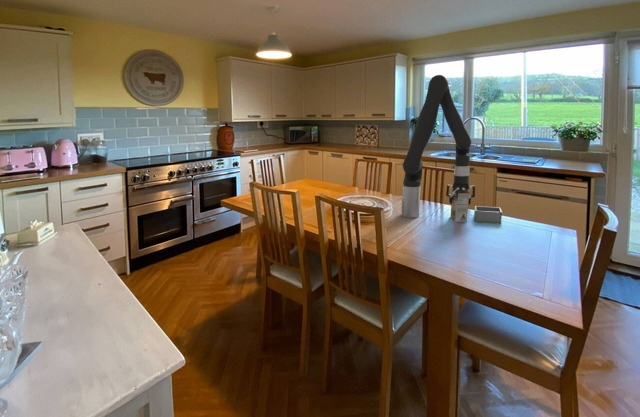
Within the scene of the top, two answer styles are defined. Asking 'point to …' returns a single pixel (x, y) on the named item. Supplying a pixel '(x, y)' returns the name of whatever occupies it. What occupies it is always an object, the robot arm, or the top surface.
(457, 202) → the coffee box
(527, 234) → the top surface
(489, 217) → the bin
